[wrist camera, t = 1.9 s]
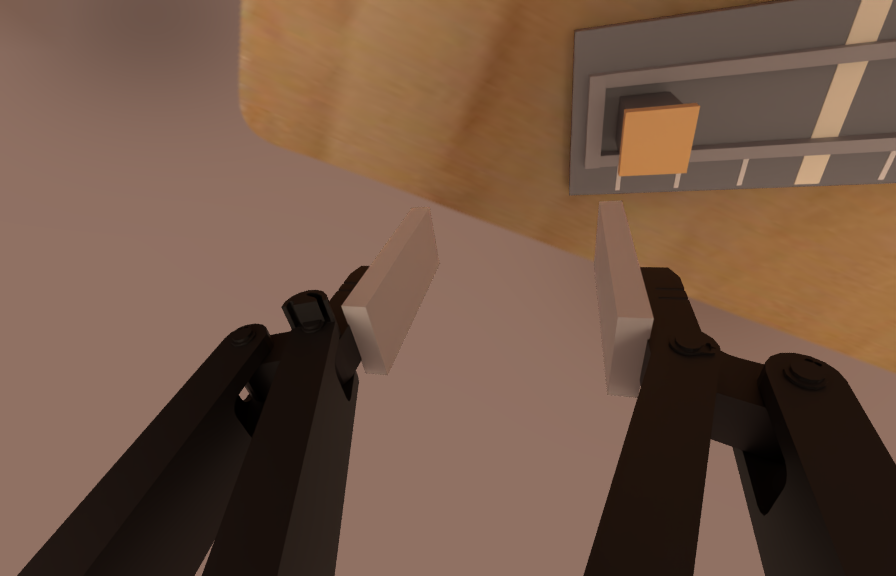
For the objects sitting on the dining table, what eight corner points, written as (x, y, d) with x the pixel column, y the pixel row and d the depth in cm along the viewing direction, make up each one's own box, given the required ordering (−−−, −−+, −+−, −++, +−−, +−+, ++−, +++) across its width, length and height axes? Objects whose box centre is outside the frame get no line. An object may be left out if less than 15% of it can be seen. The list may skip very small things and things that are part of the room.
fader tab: (676, 85, 25) (700, 106, 21) (666, 143, 27) (686, 173, 23) (615, 92, 26) (626, 112, 22) (610, 147, 28) (618, 176, 24)
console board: (1038, -38, 21) (1103, -42, 18) (924, 170, 27) (961, 188, 24) (574, 29, 27) (575, 33, 24) (569, 185, 33) (569, 201, 31)
